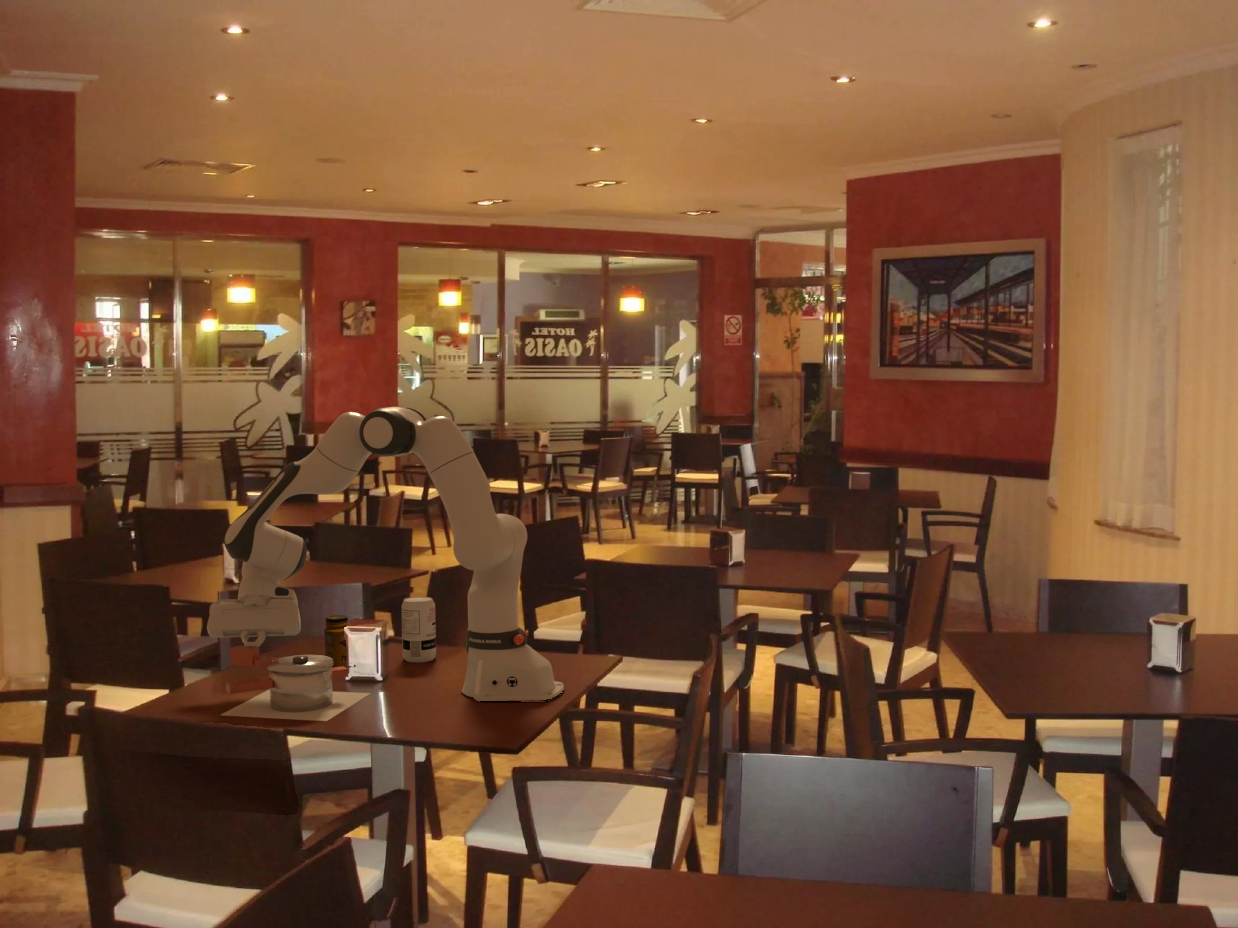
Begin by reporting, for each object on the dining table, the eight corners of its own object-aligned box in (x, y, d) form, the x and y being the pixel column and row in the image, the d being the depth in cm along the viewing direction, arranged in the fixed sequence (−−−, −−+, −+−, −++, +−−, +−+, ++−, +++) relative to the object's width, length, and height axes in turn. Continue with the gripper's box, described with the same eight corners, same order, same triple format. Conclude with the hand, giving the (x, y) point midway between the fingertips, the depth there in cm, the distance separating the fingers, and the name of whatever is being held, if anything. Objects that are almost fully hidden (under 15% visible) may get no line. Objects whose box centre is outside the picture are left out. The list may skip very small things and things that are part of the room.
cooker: (352, 696, 280) (351, 660, 279) (311, 721, 260) (310, 682, 260) (269, 691, 284) (267, 656, 284) (222, 716, 265) (220, 678, 264)
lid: (343, 660, 278) (343, 644, 278) (315, 675, 265) (315, 658, 265) (250, 656, 283) (249, 640, 283) (217, 671, 270) (217, 654, 270)
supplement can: (400, 656, 318) (399, 597, 317) (433, 654, 321) (432, 595, 320) (405, 664, 311) (403, 603, 309) (438, 661, 313) (437, 601, 312)
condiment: (356, 666, 309) (355, 617, 308) (323, 671, 305) (321, 621, 304) (345, 660, 315) (344, 612, 314) (312, 665, 311) (310, 616, 310)
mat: (370, 694, 282) (370, 693, 282) (326, 722, 261) (326, 720, 261) (271, 689, 287) (271, 688, 287) (220, 716, 266) (220, 714, 266)
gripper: (208, 592, 288) (200, 644, 279) (300, 589, 290) (295, 641, 281) (213, 608, 293) (205, 659, 284) (304, 605, 295) (299, 656, 286)
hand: (251, 650), depth 283 cm, fingers closed
